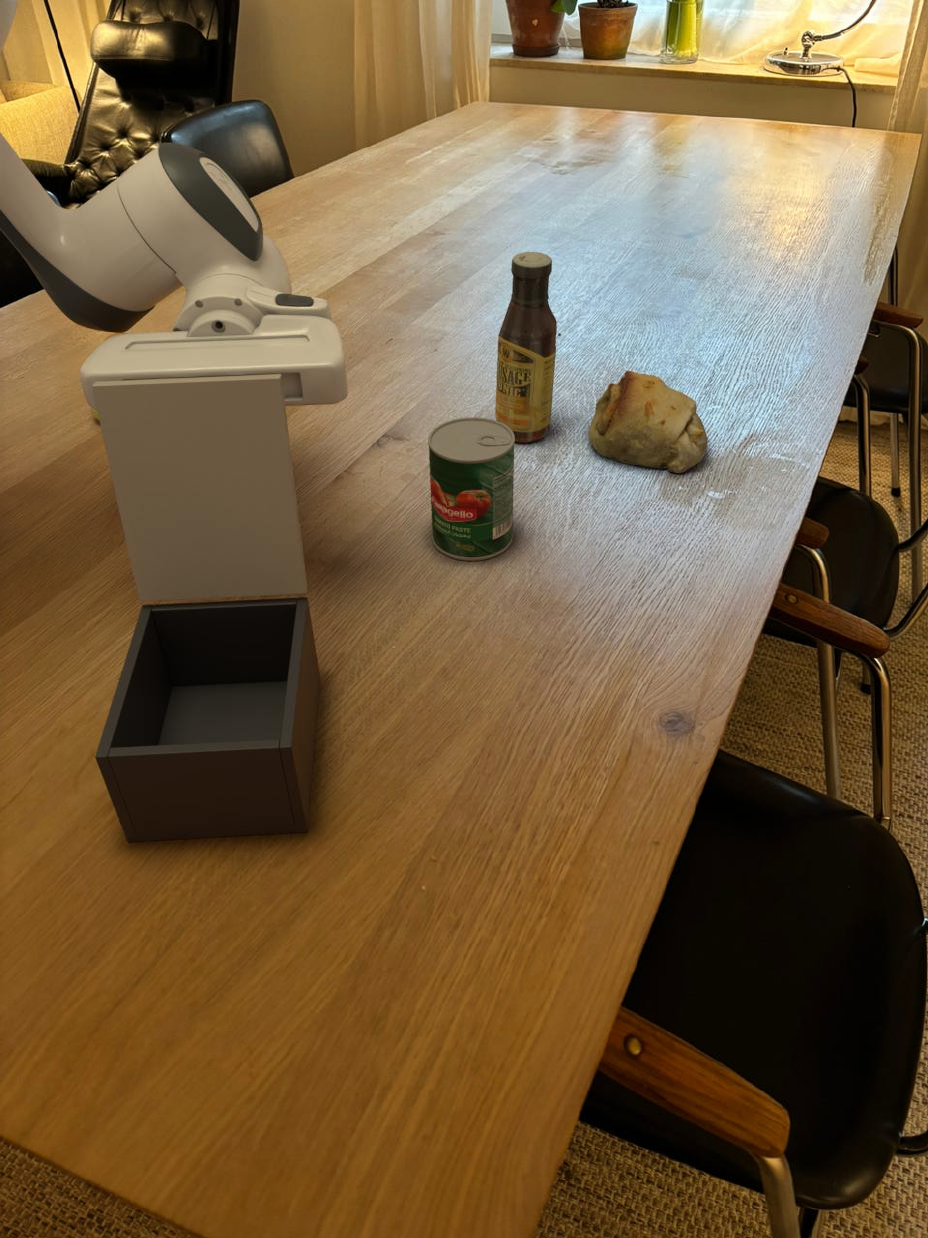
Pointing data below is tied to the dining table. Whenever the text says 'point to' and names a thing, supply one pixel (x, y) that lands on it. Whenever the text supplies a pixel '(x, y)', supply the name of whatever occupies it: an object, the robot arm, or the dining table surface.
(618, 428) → the pastry
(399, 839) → the dining table surface
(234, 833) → the open box
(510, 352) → the sauce bottle
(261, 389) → the box lid
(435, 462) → the canned tomato
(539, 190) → the dining table surface
